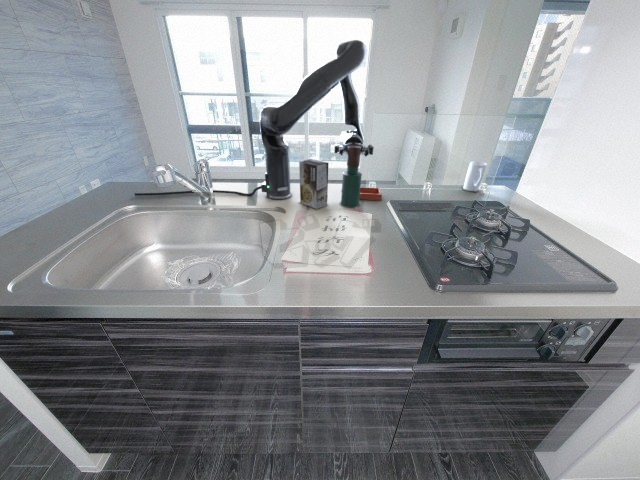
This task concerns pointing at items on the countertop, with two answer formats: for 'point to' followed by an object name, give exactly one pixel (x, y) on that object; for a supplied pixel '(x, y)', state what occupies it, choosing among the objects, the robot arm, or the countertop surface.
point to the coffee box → (313, 183)
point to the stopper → (353, 156)
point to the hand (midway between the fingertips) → (354, 152)
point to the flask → (351, 187)
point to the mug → (474, 175)
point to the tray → (370, 193)
